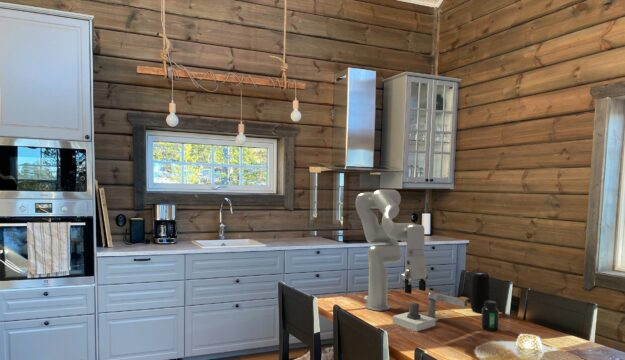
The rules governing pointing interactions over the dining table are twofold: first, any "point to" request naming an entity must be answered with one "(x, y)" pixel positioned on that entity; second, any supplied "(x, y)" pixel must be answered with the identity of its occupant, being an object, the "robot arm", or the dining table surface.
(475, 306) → the portable speaker
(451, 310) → the dining table surface
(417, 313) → the plug
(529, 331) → the dining table surface
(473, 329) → the dining table surface
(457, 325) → the dining table surface
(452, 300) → the grey long bar
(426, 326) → the socket block
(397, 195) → the robot arm
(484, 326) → the supplement bottle
